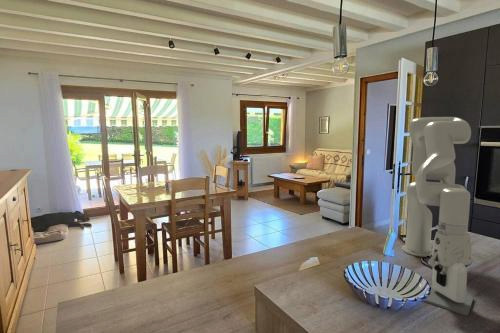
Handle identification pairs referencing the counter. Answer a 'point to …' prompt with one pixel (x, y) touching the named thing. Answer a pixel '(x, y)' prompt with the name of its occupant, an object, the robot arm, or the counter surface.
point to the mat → (449, 302)
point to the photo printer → (453, 282)
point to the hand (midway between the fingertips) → (448, 283)
